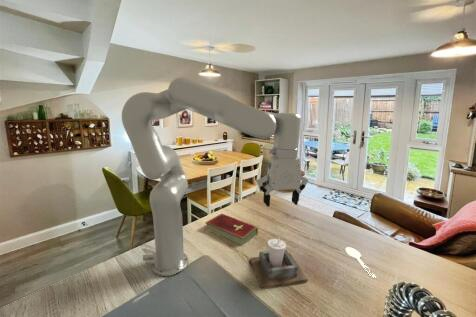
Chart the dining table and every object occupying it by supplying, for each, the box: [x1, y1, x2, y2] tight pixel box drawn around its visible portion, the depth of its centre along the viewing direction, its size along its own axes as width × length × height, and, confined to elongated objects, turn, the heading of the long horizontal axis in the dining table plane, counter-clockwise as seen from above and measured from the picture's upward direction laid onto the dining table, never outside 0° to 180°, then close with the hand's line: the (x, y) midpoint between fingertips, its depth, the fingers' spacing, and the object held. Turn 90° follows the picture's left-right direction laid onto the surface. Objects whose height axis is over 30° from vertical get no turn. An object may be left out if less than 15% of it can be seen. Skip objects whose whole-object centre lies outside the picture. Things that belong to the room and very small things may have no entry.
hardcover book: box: [205, 213, 259, 246], centre depth 107 cm, size 12×21×4 cm, turn 54°
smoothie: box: [266, 232, 287, 268], centre depth 81 cm, size 6×6×14 cm
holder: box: [249, 248, 309, 289], centre depth 82 cm, size 16×14×4 cm
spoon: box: [344, 246, 377, 279], centre depth 89 cm, size 5×18×1 cm, turn 3°
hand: (280, 204), depth 77 cm, fingers open, 9 cm apart
